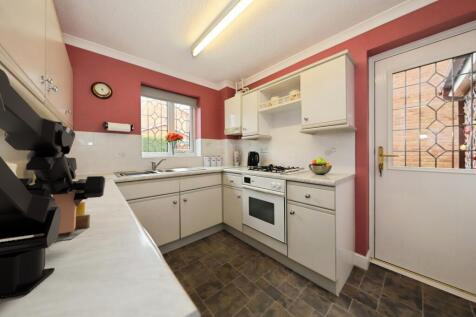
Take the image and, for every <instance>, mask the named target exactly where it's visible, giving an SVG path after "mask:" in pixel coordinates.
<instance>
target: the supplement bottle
mask: <svg viewBox="0 0 476 317" xmlns="http://www.w3.org/2000/svg"><path fill="white" fill-rule="evenodd" d="M85 212H86V199H85V200H82V201H81V202H80V204H79V206H76V215H86V213H85Z"/></svg>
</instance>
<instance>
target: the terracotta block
mask: <svg viewBox="0 0 476 317" xmlns="http://www.w3.org/2000/svg"><path fill="white" fill-rule="evenodd" d="M74 196H75V190H74V192H71V193H68V194H56V195H52V197H53V198H54V199H55V201H54V202H55V203H56V204H57V207H60V209H61V219H60V226H59V233H58V234H60V233H66V232H72V231H74V229H75V227H76V205H75V203H74V200H73V199H74ZM75 230H76V229H75Z"/></svg>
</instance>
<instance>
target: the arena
mask: <svg viewBox="0 0 476 317" xmlns="http://www.w3.org/2000/svg"><path fill="white" fill-rule="evenodd" d="M90 218H91V216H90V214H85V215H76V227H75V229H74V231H72V232H66V233H60V234H58V238H57V240H56V241H55V242H58V241H59V242H60V241H70V240H73V239H75V237H77V236H78V235H80V234H82V233H83V232H84V231H86V230H87V229H89V228H90V227H91V226H90ZM37 236H44V234H37V235H33V237H37Z"/></svg>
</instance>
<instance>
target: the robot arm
mask: <svg viewBox="0 0 476 317" xmlns="http://www.w3.org/2000/svg"><path fill="white" fill-rule="evenodd" d="M0 129H1V130H2V131H4V141H5V142H6V143H7V144H8V145H9V146H10V147H12V149H14V150H15V151H24V152H25V151H27V152H28V154H27V155H26V159H27V163H26V164H25V170H26V171H33V174H34V176H35V179H33V177H18V176H17V175H16V174H15V172H14V171H13V170H12V169H11V167H10V166H9V165H8V163H7V162H6V161H5V160H4V159H3V157H1V155H0V240H2V241H0V299H4V298H9V297H17V296H22V295H26V294H29V293H30V292H31V291H32V290H33V289H34V288H36V287H37V286H39V285H40V283H42V282H43V281H44V280H45V279H47V277H49V276H50V275H51V274H53V273H54V272H55V267H50V268H49V267H48V268H45V267H46V249H49V248H50V247H51V246H52V245H53V244H54V243H55V242H57V241H56V240H57V238H58V233H59V226H60V219H61V209H60V207H57V204H56V203H55V202H54V201H55V199H54V198H53V195H56V194H68V193H71V192H74V190H75V196H74V199H73V200H74V203H75V205H76V206H79V204H80V202H81V201H82V200H85V201H86V200H88V199H93V198H101V197H103V196H104V192H105V186H106V177H105V176H103V175H92V176H91V175H89V176H86V178H80V179H78V180H75V179H76V176H77V175H76V174H77V173H76V171H77V169H78V168H77V167H78V164H77V158H75V157H67V156H66V155H69V153H70V152H71V149H72V146H73V144H74V141H75V138H76V132H75V131H74V130H72V129H71V128H70V127H68V126H65V125H64V124H63V122H62V121H56V120H52V119H49V118H44V117H42V116H40V115H39V114H38V113H37V112H36V111H35V110H34V108H32V106H31V105H30V104H29V103H28V102H27V101H26V100H25V99H24V98H23V96H21V95H20V93H18V92H17V90H16V89H15V88H14V87H13V86H12V85H11V83H10V79H9V77H8V74H7V73H6V71H4V70H3V69H2V68H0ZM32 183H33V184H32ZM37 234H44V236H37V237H34V235H37ZM28 236H29V237H28ZM23 237H25V238H23ZM8 239H11V240H8ZM3 240H4V241H3Z"/></svg>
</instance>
